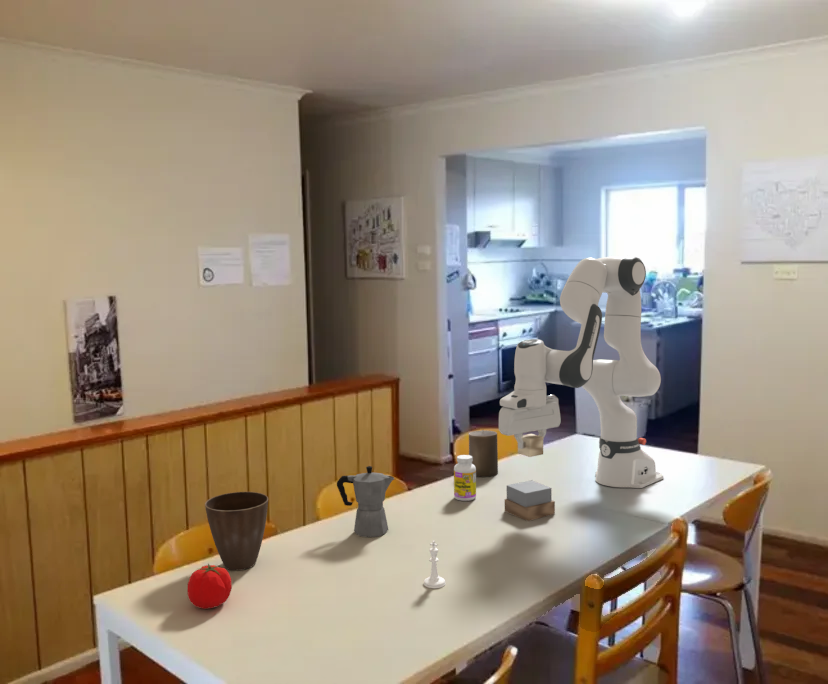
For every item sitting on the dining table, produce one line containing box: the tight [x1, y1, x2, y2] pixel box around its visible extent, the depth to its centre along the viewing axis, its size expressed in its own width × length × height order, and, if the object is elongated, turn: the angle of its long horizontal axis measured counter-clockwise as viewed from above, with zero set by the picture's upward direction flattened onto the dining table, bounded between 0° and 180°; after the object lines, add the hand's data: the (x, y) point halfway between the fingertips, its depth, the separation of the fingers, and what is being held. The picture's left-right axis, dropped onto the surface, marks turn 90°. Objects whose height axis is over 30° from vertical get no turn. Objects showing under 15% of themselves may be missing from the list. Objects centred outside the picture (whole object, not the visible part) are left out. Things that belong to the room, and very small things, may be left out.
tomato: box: [187, 563, 233, 609], centre depth 167 cm, size 9×10×8 cm
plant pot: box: [204, 491, 269, 571], centre depth 187 cm, size 15×15×16 cm
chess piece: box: [423, 540, 447, 589], centre depth 174 cm, size 5×5×10 cm
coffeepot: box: [336, 465, 395, 538], centre depth 207 cm, size 15×9×18 cm, turn 92°
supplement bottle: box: [453, 454, 477, 502], centre depth 234 cm, size 7×7×13 cm
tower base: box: [504, 498, 556, 522], centre depth 220 cm, size 10×10×4 cm
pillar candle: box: [468, 429, 499, 478], centre depth 260 cm, size 10×10×15 cm
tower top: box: [506, 479, 553, 507], centre depth 220 cm, size 9×9×4 cm
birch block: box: [517, 433, 544, 458], centre depth 218 cm, size 5×5×5 cm
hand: (530, 446), depth 218 cm, fingers closed on birch block, 5 cm apart
